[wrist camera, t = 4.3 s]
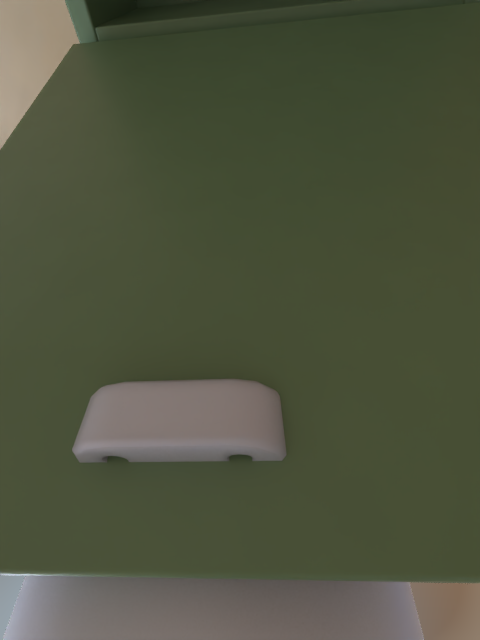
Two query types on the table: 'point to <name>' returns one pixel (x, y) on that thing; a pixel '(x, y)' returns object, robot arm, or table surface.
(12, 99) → the table surface
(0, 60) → the table surface
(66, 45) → the table surface
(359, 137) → the lid
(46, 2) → the table surface
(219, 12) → the chest
